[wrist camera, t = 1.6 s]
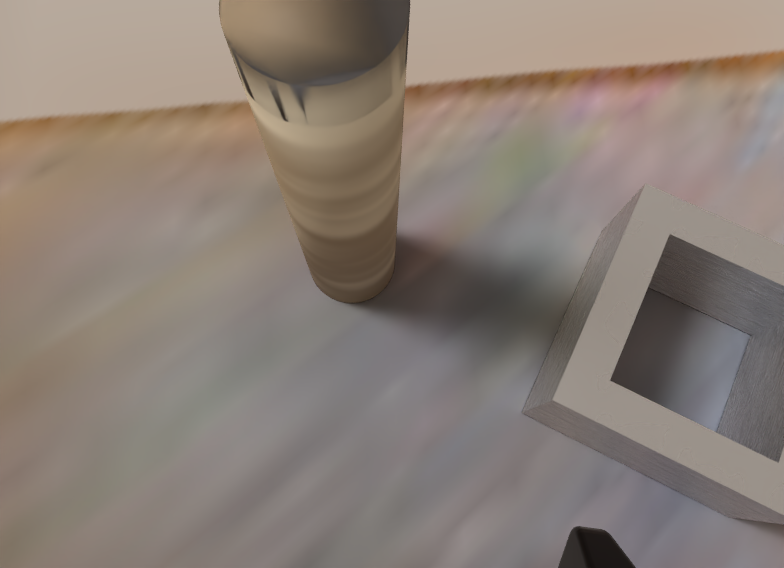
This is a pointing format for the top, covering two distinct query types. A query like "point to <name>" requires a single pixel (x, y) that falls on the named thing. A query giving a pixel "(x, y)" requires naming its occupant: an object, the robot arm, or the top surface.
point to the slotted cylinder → (330, 125)
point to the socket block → (706, 294)
